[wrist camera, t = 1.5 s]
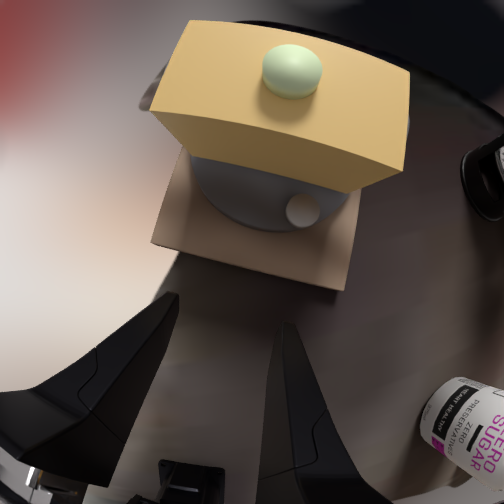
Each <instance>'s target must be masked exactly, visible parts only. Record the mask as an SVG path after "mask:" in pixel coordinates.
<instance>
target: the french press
mask: <svg viewBox="0 0 504 504" xmlns="http://www.w3.org/2000/svg"><path fill="white" fill-rule="evenodd" d="M479 161H482V162H484V163H485V164H486V165H487V166H488V167H489V168H490V169H491V171H492V172H493V174H494V176H495V178H496V180H497V183H498V186H499V190H500V200H498V201H496V202H494V201H493V199H492V198H491V196H490V194H489V193H488V191H487V189H486V186H485V184H484V181H483V178H482V176H481V172H480V167H479ZM460 172H461V179H462V184H463V187H464V190H465V193H466V195H467V198H468V200H469V201H470V203H471V205H472V207H473V208H474V209H475V211H476V212H477V213H478V214H479V215H480V216H481V217H482V218H483V219H485V220H487V221H490V222H494V221H498V220H499V219H500V218H501V217H504V133H503V134H501V135H500V136H498V137H497V138H496V139H495V140H493V141H492V142H490V143H485V144H482V145H481V146H479V147H478V148H476V149H475V150H471V151H469V152H467V153H466V154H465V155H464V156H463V158H462V161H461V167H460Z"/></svg>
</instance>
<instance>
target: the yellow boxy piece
mask: <svg viewBox="0 0 504 504" xmlns="http://www.w3.org/2000/svg"><path fill="white" fill-rule="evenodd" d="M409 86H410V72H408V71H406V70H404V69H402V68H399V67H397V66H395V65H393V64H390V63H388V62H386V61H383V60H381V59H378V58H376V57H373V56H371V55H368V54H365V53H363V52H360V51H357V50H354V49H351V48H348V47H345V46H342V45H339V44H336V43H333V42H329V41H326V40H322V39H318V38H315V37H311V36H307V35H303V34H298V33H294V32H289V31H284V30H279V29H274V28H268V27H262V26H255V25H248V24H240V23H230V22H218V21H199V20H190V21H189V23H188V25H187V26H186V28H185V30H184V32H183V34H182V36H181V38H180V40H179V42H178V45H177V46H176V48H175V50H174V53H173V55H172V57H171V59H170V61H169V62H168V64H167V66H166V68H165V70H164V73H163V77H162V80H161V82H160V84H159V87H158V89H157V92H156V94H155V97H154V99H153V102H152V105H151V107H150V112H151V113H152V114H153V115H154V116H155V117H156V118H157V119H158V120H159V121H160V122H161V123H162V124H163V125H164V126H165V127H166V128H167V129H168V130H169V131H170V133H172V135H173V136H174V137H175V138H176V139H177V140H178V141H179V142H180V143H181V144H182V145H183V146H184V148H185V149H186V150H187V151H188V152H189V153H190V154H191V155H192V156H195V157H200V158H206V159H211V160H216V161H221V162H225V163H230V164H235V165H239V166H244V167H248V168H253V169H257V170H261V171H265V172H269V173H273V174H277V175H281V176H285V177H289V178H293V179H297V180H300V181H304V182H308V183H311V184H315V185H318V186H322V187H325V188H328V189H332V190H335V191H339V192H342V193H345V194H348V193H350V192H353V191H355V190H358V189H360V188H363V187H365V186H368V185H370V184H373V183H375V182H377V181H380V180H382V179H385V178H387V177H390V176H392V175H395V174H397V173H400V172H402V171H403V163H404V155H405V147H406V139H407V136H408V131H409V115H408V111H409Z"/></svg>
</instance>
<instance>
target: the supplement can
mask: <svg viewBox="0 0 504 504" xmlns="http://www.w3.org/2000/svg"><path fill="white" fill-rule="evenodd" d="M420 432H421V436H422V437H423V439H424V440H425V441H426V442H427V443H429V444H430V445H431V446H432V447H434V448H435V449H436V450H438V451H439V452H440V453H442V454H443V455H444V456H446V457H447V458H448V459H450V460H451V461H452V462H454V463H455V464H456V465H458V466H459V467H460V468H462V469H463V470H464V471H466V472H467V473H468V474H470V475H471V476H473V477H474V478H476V479H477V480H478V481H480V482H481V483H482V484H484V485H485V486H487V487H488V488H489V489H491V490H492V491H504V391H503V390H500V389H497V388H494V387H491V386H488V385H485V384H482V383H479V382H476V381H473V380H470V379H467V378H465V377H455V378H453V379H451V380H449V381H447V382H446V383H445V384H444V385H442V386H441V387H440V388H439V389H438V390H437V391H436V392H435V393H434V394H433V396H432V397H431V398H430V400H429V401H428V403H427V405H426V407H425V409H424V411H423V414H422V419H421V423H420Z"/></svg>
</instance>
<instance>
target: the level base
mask: <svg viewBox="0 0 504 504" xmlns="http://www.w3.org/2000/svg"><path fill="white" fill-rule="evenodd" d="M360 195H361V188H360V189H358V190H355V191H353V192H350V193H348V194H345V193H342V192H339V191H335V190H332V189H328V188H325V187H322V186H318V185H315V184H311V183H308V182H304V181H300V180H297V179H293V178H289V177H285V176H281V175H277V174H273V173H269V172H265V171H261V170H257V169H253V168H248V167H244V166H239V165H235V164H230V163H225V162H221V161H216V160H211V159H206V158H200V157H195V156H192V155H191V154H190V153H189V152H188V151H187V150H186V149H185V148H184V146H183V147H182V149H181V152H180V154H179V157H178V160H177V163H176V165H175V168H174V171H173V174H172V177H171V179H170V182H169V185H168V188H167V191H166V194H165V197H164V200H163V203H162V206H161V209H160V213H159V216H158V219H157V222H156V226H155V229H154V232H153V236H152V239H151V243H153V244H155V245H157V246H161V247H165V248H169V249H173V250H176V251H180V252H184V253H188V254H191V255H195V256H199V257H203V258H207V259H211V260H215V261H218V262H222V263H226V264H230V265H234V266H238V267H242V268H246V269H250V270H254V271H258V272H262V273H266V274H270V275H274V276H278V277H282V278H286V279H291V280H295V281H299V282H303V283H307V284H311V285H315V286H320V287H324V288H328V289H332V290H337V291H344V287H345V282H346V277H347V273H348V268H349V263H350V257H351V252H352V246H353V241H354V235H355V229H356V223H357V216H358V209H359V202H360Z"/></svg>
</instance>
